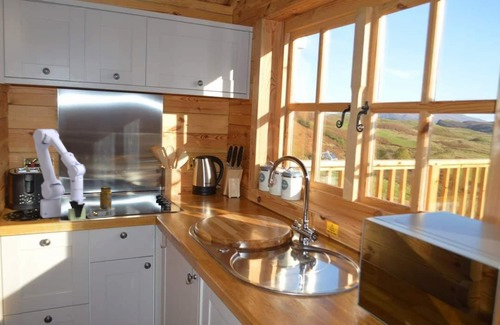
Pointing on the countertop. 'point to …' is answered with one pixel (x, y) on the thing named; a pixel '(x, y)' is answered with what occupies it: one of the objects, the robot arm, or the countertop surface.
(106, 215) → the chassis
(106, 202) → the condiment
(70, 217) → the pale green block
